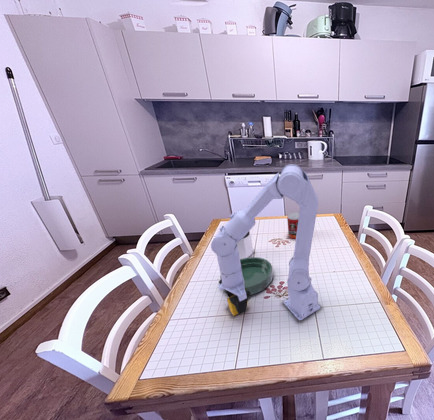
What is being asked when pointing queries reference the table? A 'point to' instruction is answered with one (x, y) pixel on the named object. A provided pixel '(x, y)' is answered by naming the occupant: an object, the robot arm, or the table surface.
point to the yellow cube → (232, 307)
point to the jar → (245, 246)
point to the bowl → (256, 274)
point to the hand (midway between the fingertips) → (237, 305)
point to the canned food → (293, 224)
